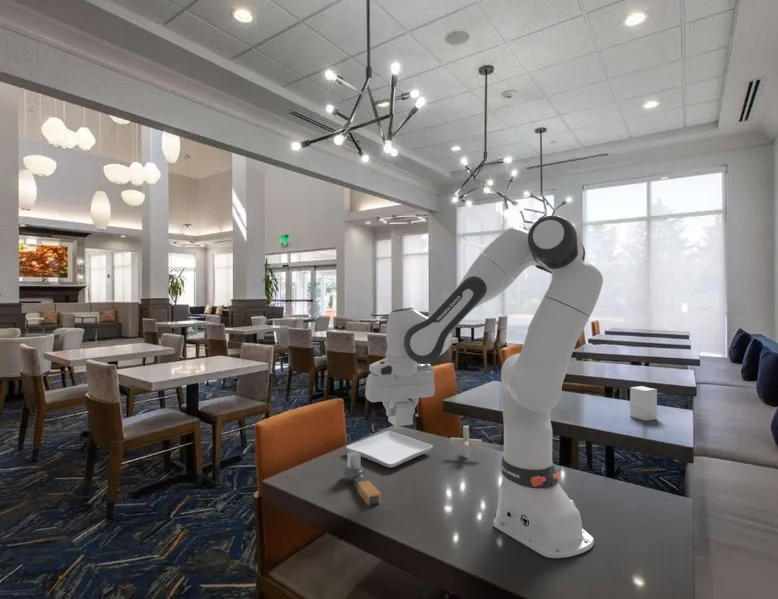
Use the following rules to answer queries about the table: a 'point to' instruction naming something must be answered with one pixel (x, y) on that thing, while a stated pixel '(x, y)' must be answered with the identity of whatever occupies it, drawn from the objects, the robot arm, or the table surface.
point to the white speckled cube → (401, 412)
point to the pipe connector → (466, 441)
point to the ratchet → (360, 479)
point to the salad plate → (390, 448)
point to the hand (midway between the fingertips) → (400, 414)
